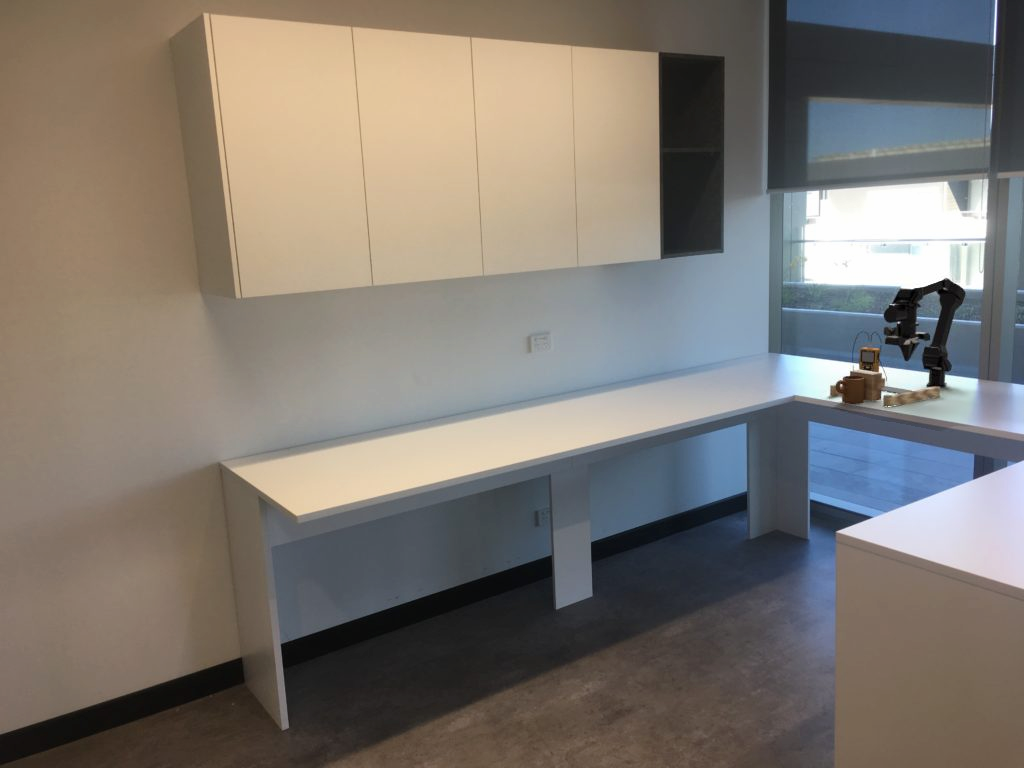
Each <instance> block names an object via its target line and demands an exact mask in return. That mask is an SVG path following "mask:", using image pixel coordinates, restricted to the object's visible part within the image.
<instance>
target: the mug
mask: <svg viewBox="0 0 1024 768" xmlns="http://www.w3.org/2000/svg"><path fill="white" fill-rule="evenodd" d="M835 385H836V386H835V387H836V390H837V392H838V393H841V394H842V395H841V400H842V402H843V404H848V405H861V403H862V404H864V401H865V400H864V390H865V380H864V377H861V376H850V375H846V376H842V379H840V380H838V381H836V383H835ZM840 385H842V389H841V388H840Z"/></svg>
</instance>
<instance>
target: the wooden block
mask: <svg viewBox="0 0 1024 768" xmlns="http://www.w3.org/2000/svg"><path fill="white" fill-rule="evenodd" d="M849 376H861V377H864V380H865V390H864V401H867V402H871V403H872V402H876V401H881V400H882V391H881V389H882V378H883V373H882V372H880V371H879V372H873V371H866V370H860V369H859V368H858V369H854V371H853V370H849Z"/></svg>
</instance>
